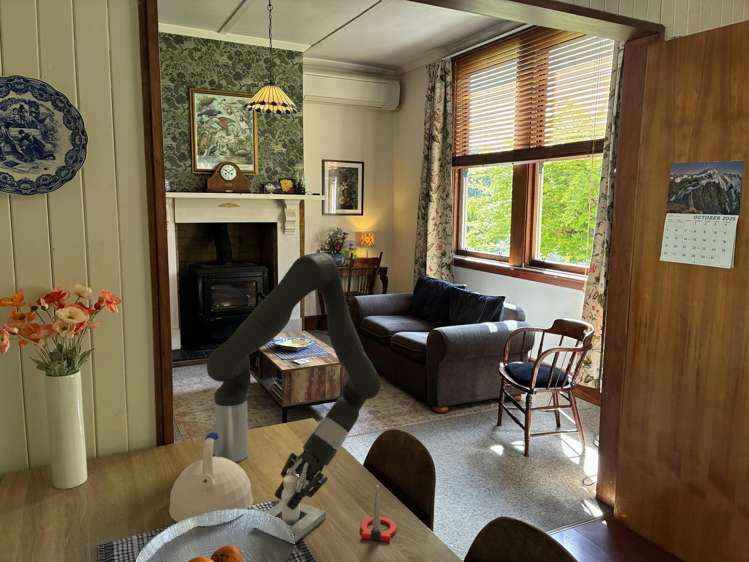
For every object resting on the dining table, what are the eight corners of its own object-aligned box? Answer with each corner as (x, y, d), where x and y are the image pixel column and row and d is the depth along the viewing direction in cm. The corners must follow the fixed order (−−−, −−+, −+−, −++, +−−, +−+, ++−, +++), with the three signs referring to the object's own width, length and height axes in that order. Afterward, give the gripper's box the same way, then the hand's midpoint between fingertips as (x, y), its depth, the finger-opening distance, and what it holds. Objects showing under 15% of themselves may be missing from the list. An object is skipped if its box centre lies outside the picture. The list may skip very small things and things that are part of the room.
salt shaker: (299, 520, 132) (298, 482, 131) (281, 521, 132) (280, 483, 131) (299, 511, 136) (299, 474, 135) (283, 512, 136) (282, 474, 134)
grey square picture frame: (253, 528, 132) (253, 520, 132) (287, 504, 142) (287, 497, 142) (293, 545, 126) (293, 536, 126) (325, 519, 136) (325, 511, 136)
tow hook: (363, 519, 137) (357, 540, 128) (365, 468, 136) (358, 485, 127) (398, 522, 136) (393, 544, 127) (400, 471, 135) (395, 489, 126)
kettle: (160, 532, 130) (157, 458, 128) (177, 487, 151) (174, 422, 148) (250, 525, 134) (248, 453, 131) (255, 481, 154) (253, 418, 151)
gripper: (300, 423, 141) (258, 483, 136) (333, 443, 130) (288, 509, 125) (318, 438, 145) (278, 496, 140) (352, 458, 134) (309, 523, 129)
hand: (283, 502), depth 132 cm, fingers closed on salt shaker, 5 cm apart
